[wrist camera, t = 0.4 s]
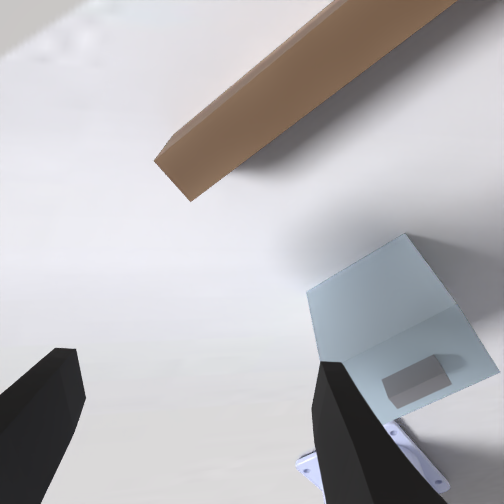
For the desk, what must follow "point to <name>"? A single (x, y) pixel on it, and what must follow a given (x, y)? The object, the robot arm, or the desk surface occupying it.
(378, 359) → the cabinet block
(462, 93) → the desk surface
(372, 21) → the wooden frame
